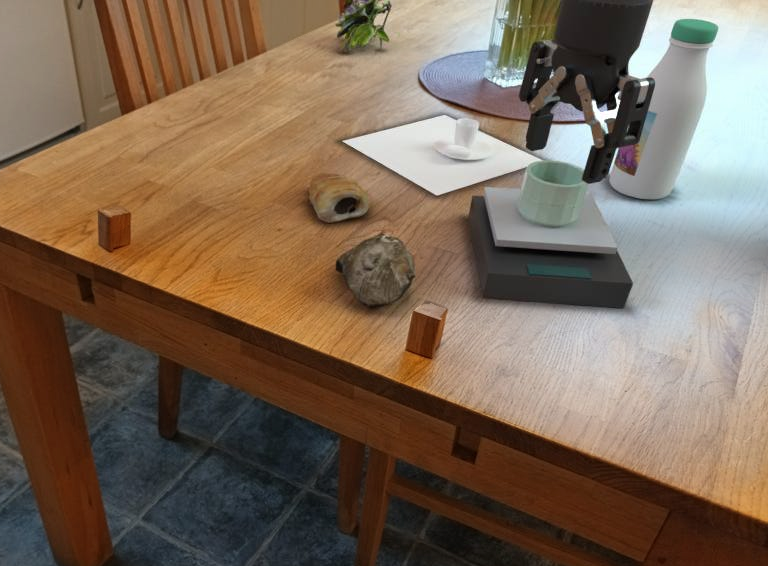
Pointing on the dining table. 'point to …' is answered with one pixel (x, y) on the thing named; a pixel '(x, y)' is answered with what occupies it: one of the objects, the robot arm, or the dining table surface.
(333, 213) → the pastry
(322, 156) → the dining table surface
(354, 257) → the fossilized seashell
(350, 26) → the passion flower
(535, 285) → the scale
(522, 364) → the dining table surface
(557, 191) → the cup
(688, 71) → the milk bottle
